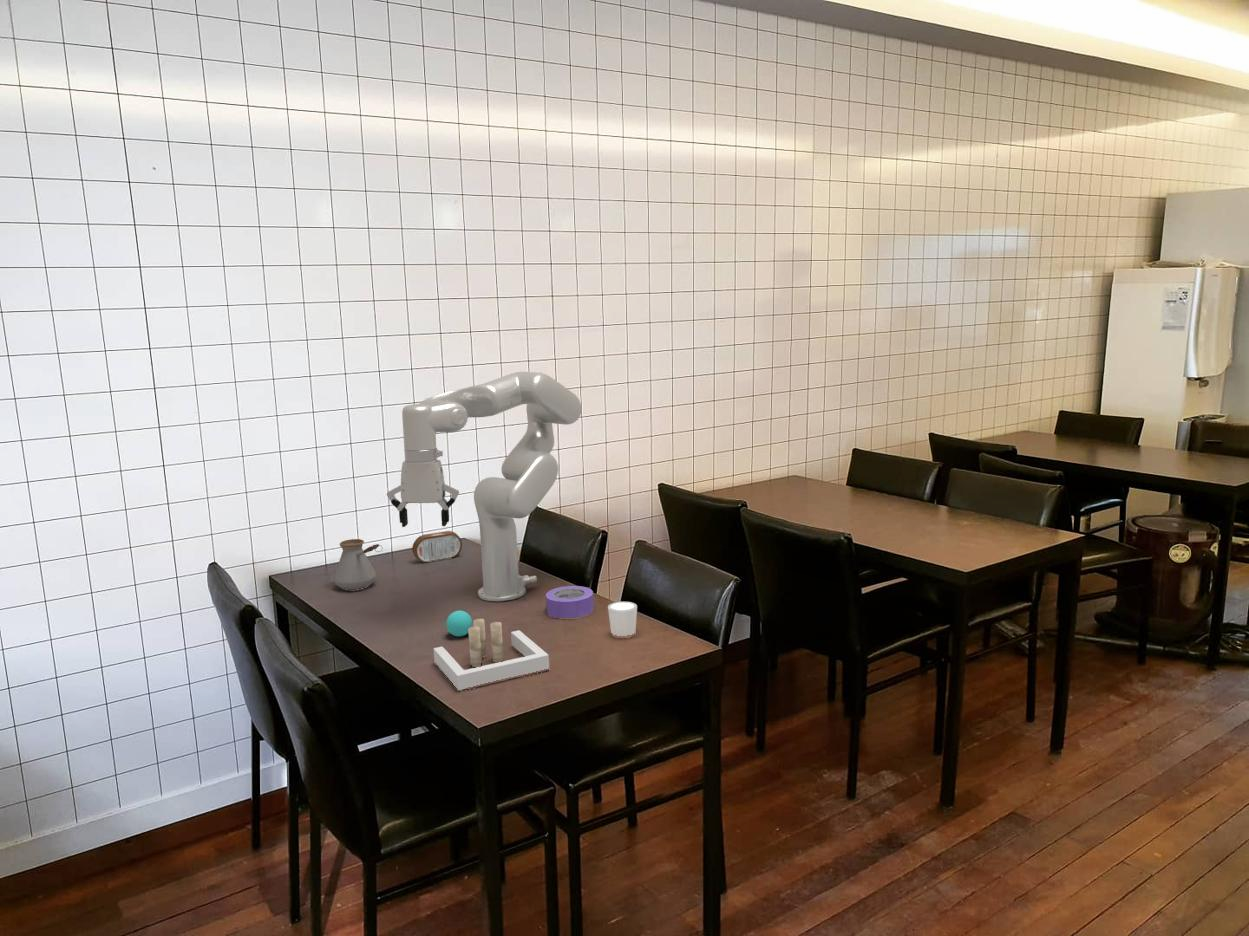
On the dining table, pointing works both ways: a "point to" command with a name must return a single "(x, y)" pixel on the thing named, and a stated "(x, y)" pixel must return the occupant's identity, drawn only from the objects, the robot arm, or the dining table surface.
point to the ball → (459, 623)
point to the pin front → (481, 635)
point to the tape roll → (569, 602)
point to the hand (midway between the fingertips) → (424, 525)
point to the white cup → (622, 618)
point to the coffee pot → (354, 566)
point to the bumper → (497, 671)
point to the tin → (437, 546)
